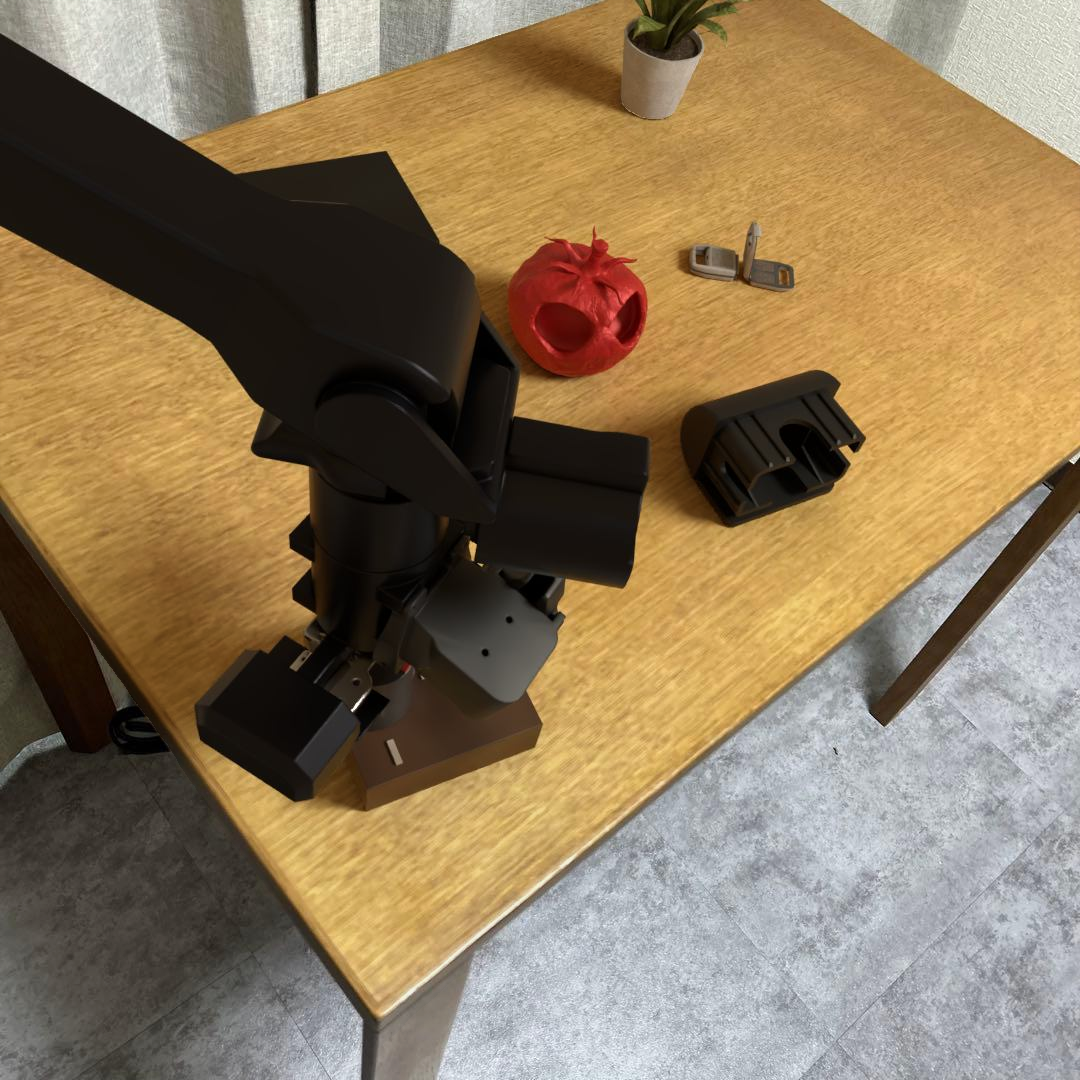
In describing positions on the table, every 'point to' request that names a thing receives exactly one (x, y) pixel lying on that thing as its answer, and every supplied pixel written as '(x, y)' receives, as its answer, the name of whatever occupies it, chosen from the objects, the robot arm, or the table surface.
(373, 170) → the black rectangular slab
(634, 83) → the house plant
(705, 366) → the table surface
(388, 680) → the dial knob
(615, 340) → the red hollow tomato
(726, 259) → the strap clip
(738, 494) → the end cap
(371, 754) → the knob panel
